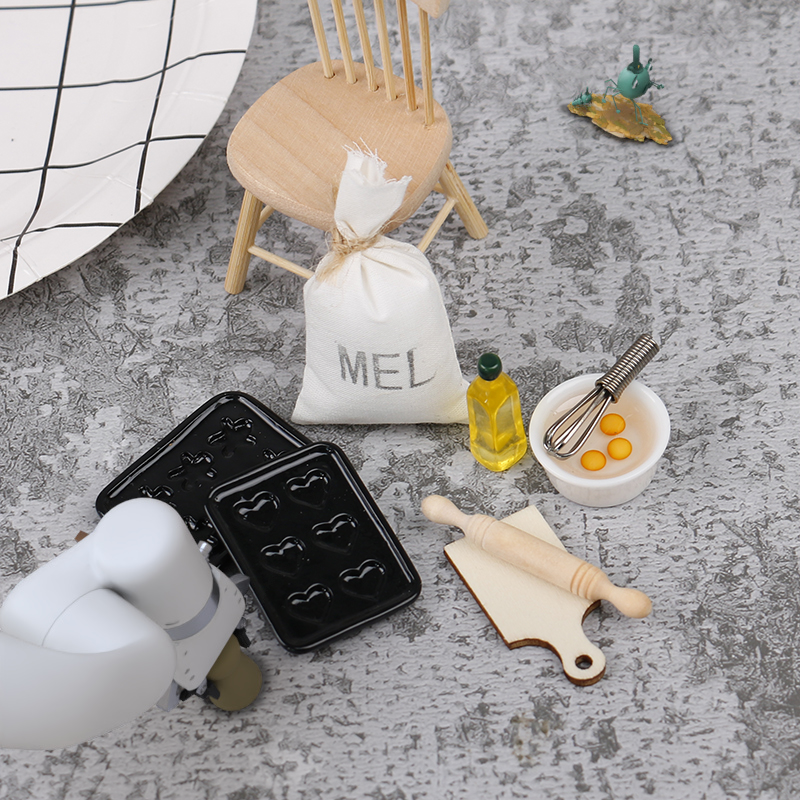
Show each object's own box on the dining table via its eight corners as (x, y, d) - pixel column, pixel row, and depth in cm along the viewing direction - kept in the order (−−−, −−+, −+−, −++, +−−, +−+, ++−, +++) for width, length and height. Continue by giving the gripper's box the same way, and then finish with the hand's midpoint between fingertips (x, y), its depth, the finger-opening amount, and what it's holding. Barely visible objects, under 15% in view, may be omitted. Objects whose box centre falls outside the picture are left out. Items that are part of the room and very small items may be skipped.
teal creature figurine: (591, 83, 155) (610, 5, 142) (684, 136, 149) (712, 59, 136) (556, 113, 151) (572, 35, 138) (650, 169, 145) (676, 92, 133)
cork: (244, 645, 105) (221, 606, 95) (272, 688, 102) (251, 652, 92) (197, 677, 103) (169, 642, 94) (224, 722, 100) (198, 690, 91)
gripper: (193, 502, 88) (236, 581, 103) (82, 664, 80) (145, 725, 95) (261, 532, 86) (294, 609, 100) (154, 702, 77) (207, 759, 92)
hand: (222, 664), depth 97 cm, fingers closed on cork, 5 cm apart
